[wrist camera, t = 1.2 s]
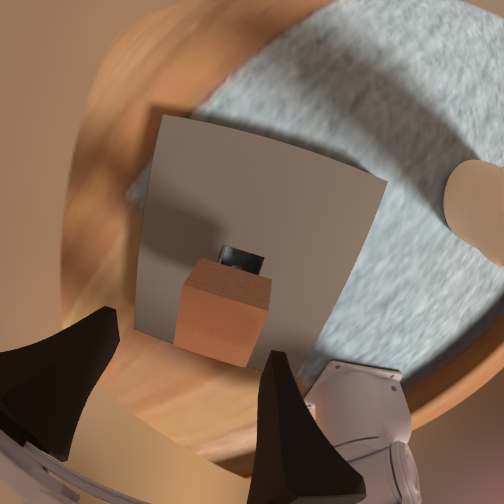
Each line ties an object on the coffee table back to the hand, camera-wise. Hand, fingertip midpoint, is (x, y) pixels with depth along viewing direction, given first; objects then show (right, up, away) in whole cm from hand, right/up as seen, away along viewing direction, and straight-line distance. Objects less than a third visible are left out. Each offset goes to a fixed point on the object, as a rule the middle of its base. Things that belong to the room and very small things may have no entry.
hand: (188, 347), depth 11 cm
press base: (+2, +4, +10) cm, 11 cm away
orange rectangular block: (+2, +3, +7) cm, 8 cm away
